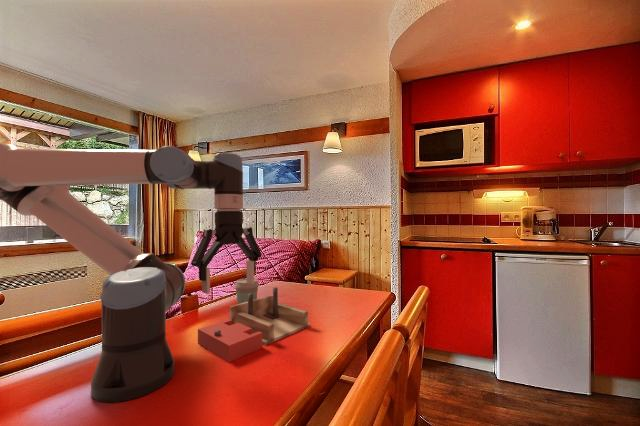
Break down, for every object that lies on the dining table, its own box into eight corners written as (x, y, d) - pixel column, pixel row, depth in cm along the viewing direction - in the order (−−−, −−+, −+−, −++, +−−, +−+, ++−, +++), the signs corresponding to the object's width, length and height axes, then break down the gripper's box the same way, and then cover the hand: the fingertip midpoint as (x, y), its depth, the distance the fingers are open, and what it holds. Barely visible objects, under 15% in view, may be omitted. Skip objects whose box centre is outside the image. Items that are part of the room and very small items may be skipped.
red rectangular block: (197, 343, 80) (197, 325, 81) (229, 332, 88) (229, 315, 88) (229, 362, 70) (229, 341, 70) (262, 347, 77) (262, 329, 78)
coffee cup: (261, 309, 109) (261, 278, 109) (254, 317, 100) (254, 283, 101) (240, 309, 110) (239, 277, 110) (231, 317, 101) (230, 282, 101)
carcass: (265, 345, 79) (265, 304, 79) (229, 328, 91) (229, 293, 91) (310, 325, 93) (310, 291, 93) (274, 313, 104) (273, 283, 104)
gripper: (190, 209, 67) (190, 300, 67) (272, 210, 86) (273, 281, 86) (176, 210, 72) (177, 295, 72) (257, 211, 91) (258, 278, 91)
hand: (229, 287), depth 79 cm, fingers open, 13 cm apart
